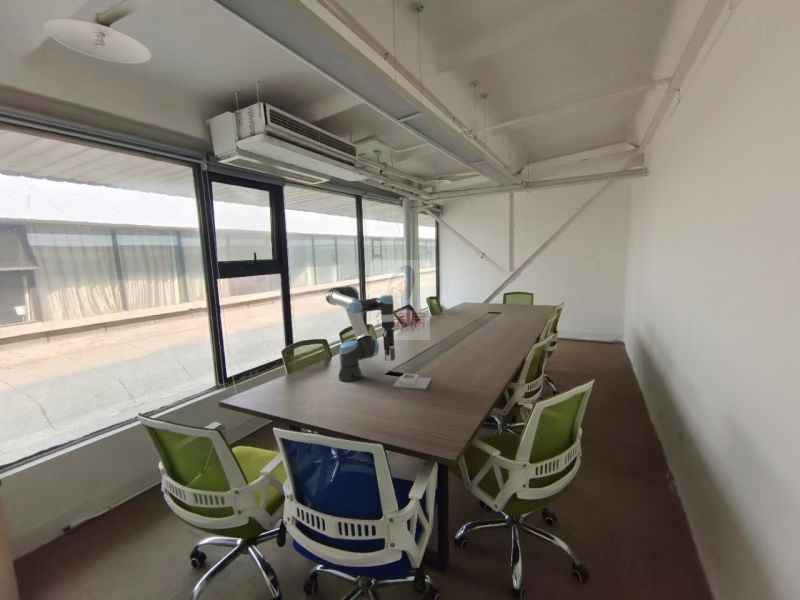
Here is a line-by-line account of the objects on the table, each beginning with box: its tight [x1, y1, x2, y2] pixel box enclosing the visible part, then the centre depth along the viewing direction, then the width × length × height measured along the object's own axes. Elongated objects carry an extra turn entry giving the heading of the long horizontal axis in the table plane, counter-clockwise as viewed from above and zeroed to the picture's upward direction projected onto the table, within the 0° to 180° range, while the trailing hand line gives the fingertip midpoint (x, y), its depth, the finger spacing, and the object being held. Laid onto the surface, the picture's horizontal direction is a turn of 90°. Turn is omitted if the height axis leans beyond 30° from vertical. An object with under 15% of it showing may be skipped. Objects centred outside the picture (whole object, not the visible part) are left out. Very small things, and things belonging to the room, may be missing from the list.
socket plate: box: [392, 373, 432, 390], centre depth 203 cm, size 20×16×4 cm
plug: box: [384, 345, 396, 362], centre depth 203 cm, size 5×4×8 cm
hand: (389, 358), depth 203 cm, fingers closed on plug, 4 cm apart
